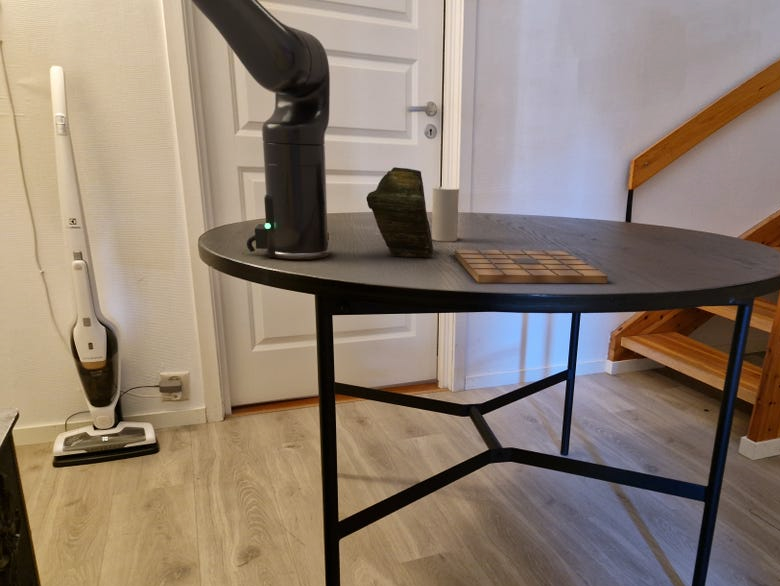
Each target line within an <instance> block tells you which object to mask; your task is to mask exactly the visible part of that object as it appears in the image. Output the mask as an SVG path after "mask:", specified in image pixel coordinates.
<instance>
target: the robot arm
mask: <svg viewBox="0 0 780 586" xmlns="http://www.w3.org/2000/svg"><path fill="white" fill-rule="evenodd" d="M190 1H191V2H192V4H193V5H194V6H195V7H196V9H198V11H200V12H201V14H202V15H203V16H204V17H205V18H206V19H207V20H208V22H210V23H211V24H212V25H213V26H214V28H215V29H216V30H217V31H218V33H219V34H220V35H221V36H222V38H223V39H224V40H225V42H226V44H227V45H228V46H229V47H230V49H231V50H232V52H233V53H234V54H235V56H236V57H237V58H238V60H239V61H240V63H241V64H242V66H243V67H244V68H245V69H246V71H247V72H248V73H249V75H250V76H251V77H252V78H253V79H254V81H255V82H256V83H257V84H258V85H259V86H261V88H263V89H265V90H267V91H268V92H271V93H273V94H274V95H275V98H274V101H275V102H274V110H273V113H272V114H271V116H270V117H269V118H268V119H267V120H265V121H264V122H263V124H262V126H261V137H262V138H261V139H262V152H263V167H264V170H263V171H264V183H265V185H264V186H265V194H264V196H263V200H264V214H265V223H258V224H257V226H256V227H255V228H254V235H252V236H249V238H247V240H246V247H247V249H248V251H249V252H250V253H253V252H255V251H256V250H267V257H268V258H276V259H282V260H294V261H295V260H297V261H298V260H300V261H301V260H317V259H323V258H326V257H328V256H329V255H330V248H329V240H330V236H329V235H330V234H329V230H328V228H329V227H328V202H327V201H328V200H327V168H326V133H327V129H328V127H329V122H330V107H331V106H330V100H331V99H330V97H331V95H330V94H331V93H330V92H331V91H330V90H331V76H330V73H331V72H330V64H329V58H328V55H327V52H326V49H325V47H324V45H323V44H322V42H321V41H320V40H319V39H318V38H317V37H316V36H315V35H313V34H311V33H309V32H307V31H304V30H302V29H298V28H295V27H291V26H289V25H287V24H284V23H283V22H281V21H280V20H279V19H278V18H276V17H275V16H274V15H273V14H272V13H271V12H270V11H268V9H267V8H266V7H264V5H262V3H260V1H259V0H190ZM253 242H255V247H254V246H253Z"/></svg>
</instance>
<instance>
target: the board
mask: <svg viewBox="0 0 780 586" xmlns="http://www.w3.org/2000/svg"><path fill="white" fill-rule="evenodd" d="M454 257H455V258H456V259H457V261H458V262H459V263H460V264H461V265H462V266H463V267H464V268H465V269H466V271H467V272H468V273H469V274H470V275H471V277H473V278H474V280H475V281H476V282H477V283H478V284H479V283H480V284H482V283H483V284H486V283H487V284H607V283H608V276H609V275H608V274H605V273H604V272H602V271H600V270H599V269H598V268H595V267H593V266H591V265H590V264H589V263H586V262H584V261H583V260H581V259H580V258H577V257H575V256H573V255H572V254H570V253H568V252H566V251H564V250H543V249H542V250H523V249H520V250H513V249H512V250H511V249H509V250H505V249H504V250H503V249H478V248H476V249H454Z"/></svg>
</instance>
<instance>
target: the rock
mask: <svg viewBox="0 0 780 586" xmlns="http://www.w3.org/2000/svg"><path fill="white" fill-rule="evenodd" d="M366 203H367V206H368V208H369V209H370V210H371V211H372V213H373V216H374V220H375V222H376V225H377V228H378V230H379V232H380V235H381V236H382V238H383V241H384V242H385V245H386V246H387V248H388V249H389V251H390V254H391V256H392V257H406V258H407V257H408V258H427V259H428V258H431V257H432V254H433V252H434V245H433V239H432V230H431V227H430V222H429V219H428V212H427V205H426V197H425V189H424V182H423V176H422V171H421V170H417V169H414V168H413V169H412V168H407V167H406V168H405V167H392V169H390V170H388V171H387V172H386V174H384V175H383V176H382V178H381V179H380V181H379V182H378V185H377V186H376V189H374V190H373V191H371V192H369V193H368V194H367V196H366Z"/></svg>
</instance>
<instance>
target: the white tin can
mask: <svg viewBox="0 0 780 586" xmlns="http://www.w3.org/2000/svg"><path fill="white" fill-rule="evenodd" d="M431 202H432V206H431V238H432V241H436V242H437V241H438V242H456V241H458V233H459V229H458V228H459V210H460V209H459V208H460V207H459V206H460V188H458V187H451V186H433V187H432V201H431Z"/></svg>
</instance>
